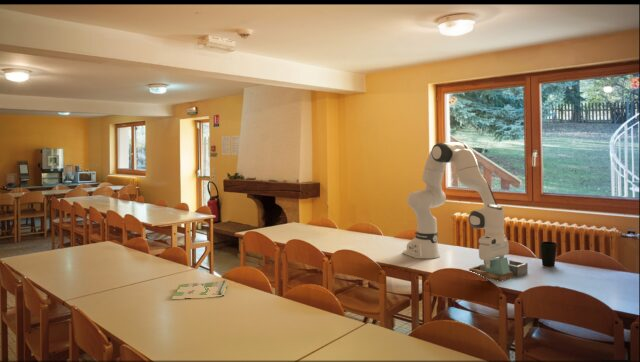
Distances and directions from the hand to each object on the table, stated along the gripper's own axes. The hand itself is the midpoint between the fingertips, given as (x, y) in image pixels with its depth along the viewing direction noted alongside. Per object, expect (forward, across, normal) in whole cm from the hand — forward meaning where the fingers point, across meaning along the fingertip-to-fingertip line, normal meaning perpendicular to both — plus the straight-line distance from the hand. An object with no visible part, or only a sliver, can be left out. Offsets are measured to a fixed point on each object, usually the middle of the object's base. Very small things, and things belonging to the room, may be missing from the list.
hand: (494, 265), depth 207 cm
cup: (+5, -36, +8) cm, 37 cm away
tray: (+5, 0, -2) cm, 5 cm away
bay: (+5, -11, +3) cm, 12 cm away
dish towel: (+6, +121, -73) cm, 141 cm away
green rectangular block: (+4, 0, 0) cm, 4 cm away
